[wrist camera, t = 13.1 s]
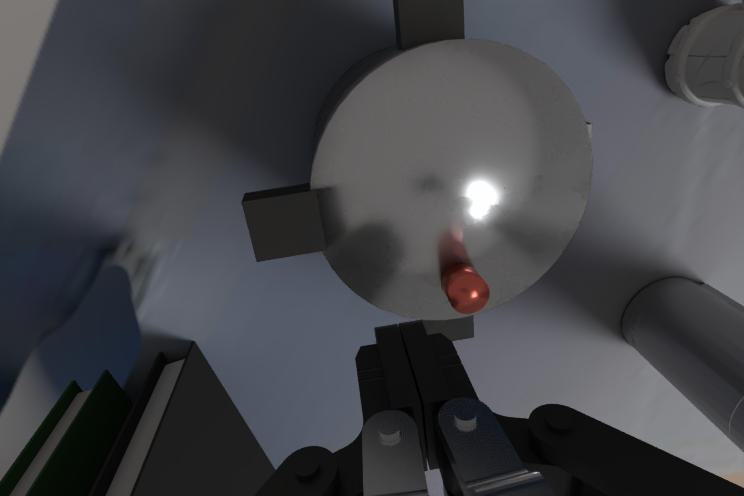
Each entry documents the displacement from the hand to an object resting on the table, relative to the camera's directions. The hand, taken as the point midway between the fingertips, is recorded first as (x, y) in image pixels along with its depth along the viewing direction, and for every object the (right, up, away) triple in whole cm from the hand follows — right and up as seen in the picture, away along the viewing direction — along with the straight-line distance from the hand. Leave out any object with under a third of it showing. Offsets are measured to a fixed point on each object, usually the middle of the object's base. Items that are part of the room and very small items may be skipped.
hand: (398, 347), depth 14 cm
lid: (+2, +6, +13) cm, 15 cm away
